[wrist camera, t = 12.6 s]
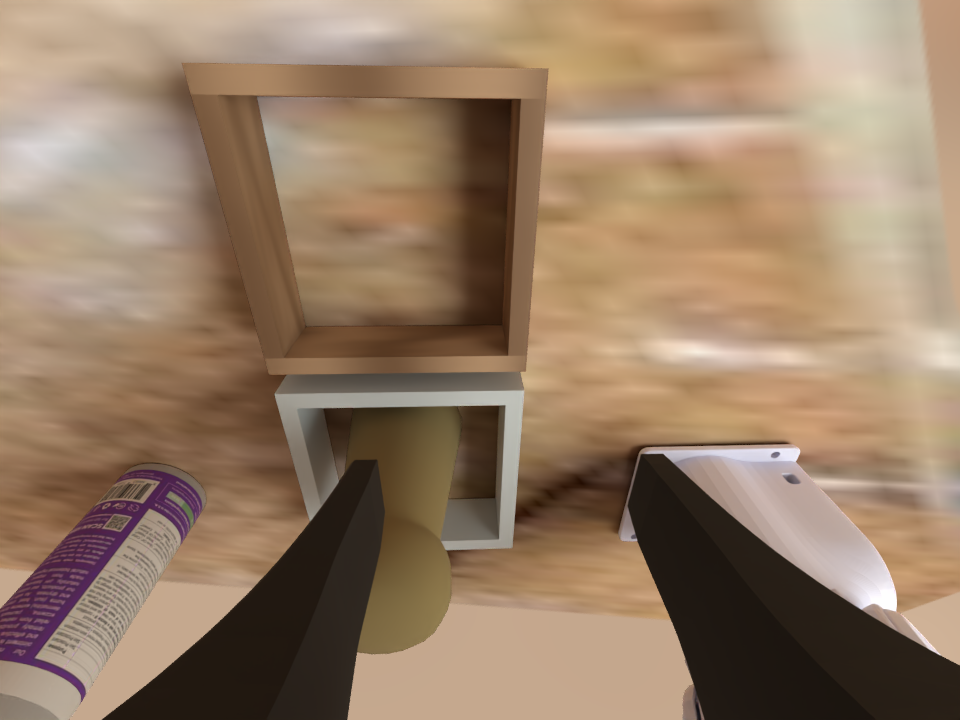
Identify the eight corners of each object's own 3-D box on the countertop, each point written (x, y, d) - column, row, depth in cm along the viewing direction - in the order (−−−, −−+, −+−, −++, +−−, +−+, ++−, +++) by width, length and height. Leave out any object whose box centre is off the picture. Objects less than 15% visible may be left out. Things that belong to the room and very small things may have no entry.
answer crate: (516, 356, 22) (524, 390, 19) (507, 506, 28) (512, 548, 25) (296, 359, 22) (274, 394, 19) (332, 511, 27) (318, 553, 25)
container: (113, 502, 26) (-226, 893, 13) (130, 451, 24) (-250, 850, 11) (195, 527, 27) (-40, 904, 15) (216, 481, 26) (-33, 867, 13)
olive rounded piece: (336, 387, 23) (248, 592, 13) (451, 371, 22) (446, 567, 13) (368, 471, 26) (315, 686, 16) (469, 457, 25) (476, 667, 16)
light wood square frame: (534, 74, 16) (548, 68, 13) (517, 339, 22) (525, 371, 19) (227, 69, 16) (181, 62, 13) (292, 341, 21) (268, 374, 19)
